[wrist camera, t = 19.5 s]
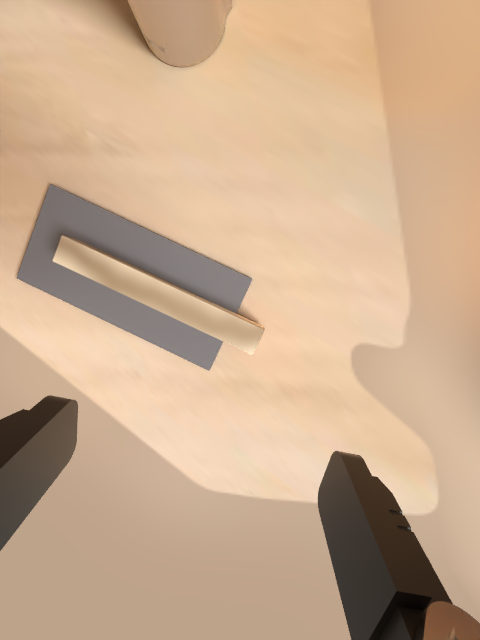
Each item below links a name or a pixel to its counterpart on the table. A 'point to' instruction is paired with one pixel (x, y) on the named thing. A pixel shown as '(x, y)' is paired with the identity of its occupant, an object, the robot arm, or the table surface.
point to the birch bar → (159, 294)
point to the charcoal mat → (139, 250)
